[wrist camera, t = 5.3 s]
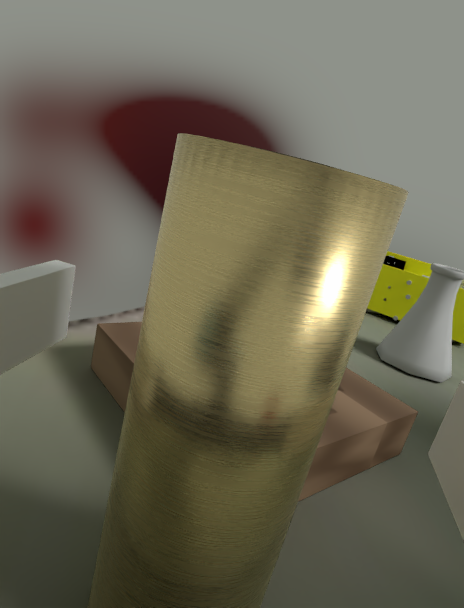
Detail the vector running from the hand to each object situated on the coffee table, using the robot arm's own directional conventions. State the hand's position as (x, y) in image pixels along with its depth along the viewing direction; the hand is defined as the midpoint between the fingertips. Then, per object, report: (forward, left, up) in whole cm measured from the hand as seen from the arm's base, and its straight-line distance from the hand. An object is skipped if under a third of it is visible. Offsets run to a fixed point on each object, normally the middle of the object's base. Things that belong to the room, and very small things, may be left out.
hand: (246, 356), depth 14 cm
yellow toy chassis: (-45, -16, -8) cm, 49 cm away
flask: (-31, -8, -8) cm, 33 cm away
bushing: (+2, +2, -8) cm, 9 cm away
